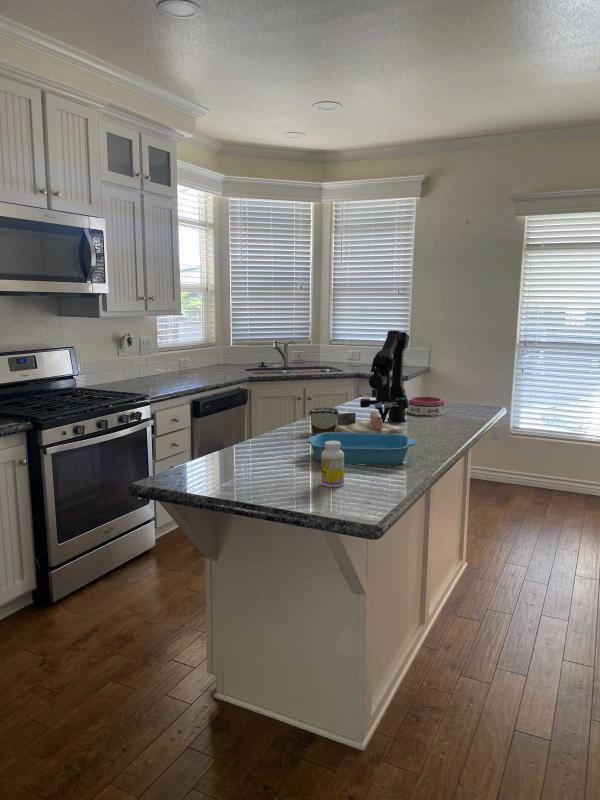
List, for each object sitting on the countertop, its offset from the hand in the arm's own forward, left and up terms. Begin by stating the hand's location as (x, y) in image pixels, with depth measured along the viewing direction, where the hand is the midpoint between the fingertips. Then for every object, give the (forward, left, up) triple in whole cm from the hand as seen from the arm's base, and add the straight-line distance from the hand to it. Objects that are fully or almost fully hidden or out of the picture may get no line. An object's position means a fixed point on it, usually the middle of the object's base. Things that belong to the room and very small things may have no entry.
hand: (383, 423), depth 244 cm
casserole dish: (+30, +32, -4) cm, 44 cm away
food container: (+22, -10, -4) cm, 25 cm away
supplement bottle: (+52, +53, -4) cm, 75 cm away
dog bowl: (-42, -27, -4) cm, 50 cm away
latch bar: (0, -5, -2) cm, 5 cm away
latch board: (+4, -6, -4) cm, 8 cm away
